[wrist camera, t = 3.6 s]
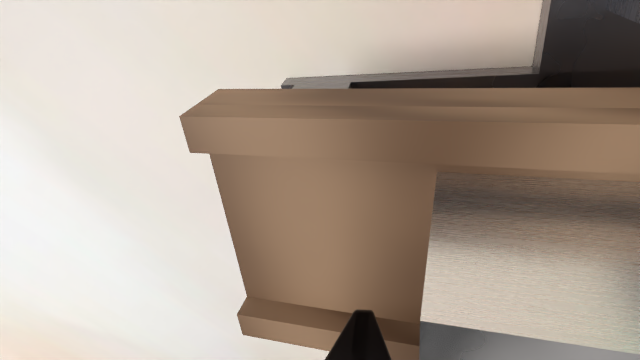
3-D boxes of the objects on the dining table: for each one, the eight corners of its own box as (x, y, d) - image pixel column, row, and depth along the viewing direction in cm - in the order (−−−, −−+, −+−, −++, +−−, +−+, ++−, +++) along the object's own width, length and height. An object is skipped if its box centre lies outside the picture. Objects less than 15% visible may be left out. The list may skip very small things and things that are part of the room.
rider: (431, 307, 12) (416, 474, 9) (436, 172, 10) (419, 320, 6) (678, 343, 10) (792, 572, 7) (756, 187, 8) (991, 408, 4)
